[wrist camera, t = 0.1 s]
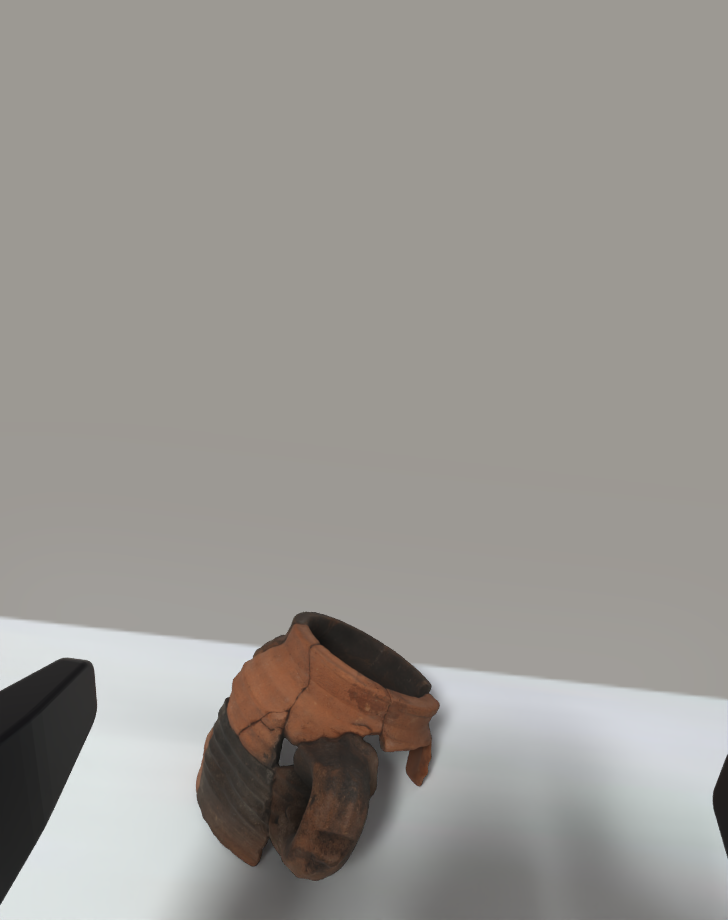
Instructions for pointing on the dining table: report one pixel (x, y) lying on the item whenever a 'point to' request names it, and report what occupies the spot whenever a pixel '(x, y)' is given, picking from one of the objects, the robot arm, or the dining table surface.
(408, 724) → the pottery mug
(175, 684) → the dining table surface
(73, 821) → the dining table surface
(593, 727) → the dining table surface
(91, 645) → the dining table surface
